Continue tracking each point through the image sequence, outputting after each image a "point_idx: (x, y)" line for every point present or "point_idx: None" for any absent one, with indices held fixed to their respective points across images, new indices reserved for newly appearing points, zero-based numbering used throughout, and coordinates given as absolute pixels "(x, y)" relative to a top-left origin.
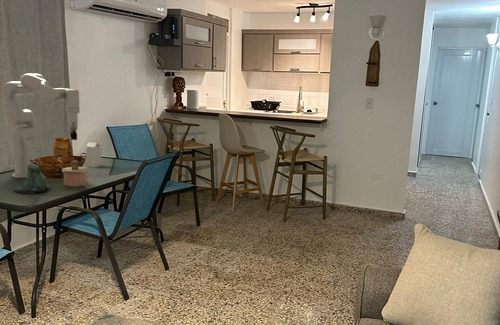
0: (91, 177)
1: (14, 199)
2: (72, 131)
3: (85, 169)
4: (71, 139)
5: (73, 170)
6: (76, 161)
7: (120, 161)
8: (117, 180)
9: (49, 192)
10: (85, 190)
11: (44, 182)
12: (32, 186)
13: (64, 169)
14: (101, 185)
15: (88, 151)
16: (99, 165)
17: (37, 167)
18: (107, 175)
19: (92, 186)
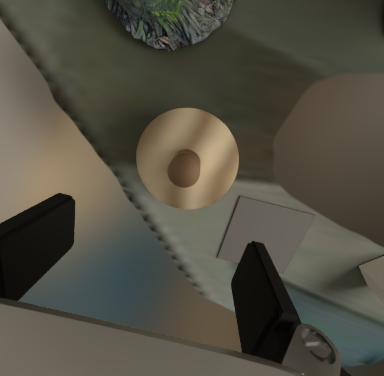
0: (234, 214)
1: None
2: (259, 324)
3: (163, 194)
4: (58, 193)
5: (164, 149)
6: (171, 176)
7: (381, 339)
8: (173, 257)
9: (111, 37)
10: (98, 152)
11: (142, 16)
12: None
13: (198, 121)
14: (137, 207)
15: None
16: (366, 282)
17: None
18: (233, 256)
19: (136, 183)
